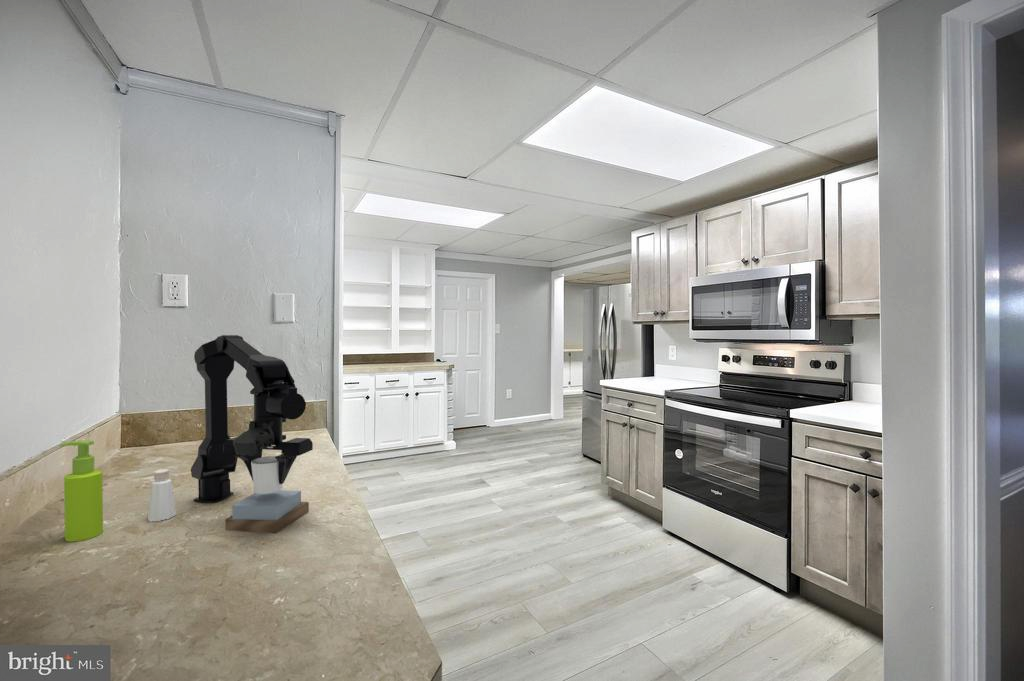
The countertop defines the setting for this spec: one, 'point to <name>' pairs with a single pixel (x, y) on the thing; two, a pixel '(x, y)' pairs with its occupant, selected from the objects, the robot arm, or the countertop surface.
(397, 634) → the countertop surface
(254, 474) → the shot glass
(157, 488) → the pepper shaker
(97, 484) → the soap dispenser
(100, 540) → the countertop surface
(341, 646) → the countertop surface
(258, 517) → the tower top
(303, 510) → the tower base
